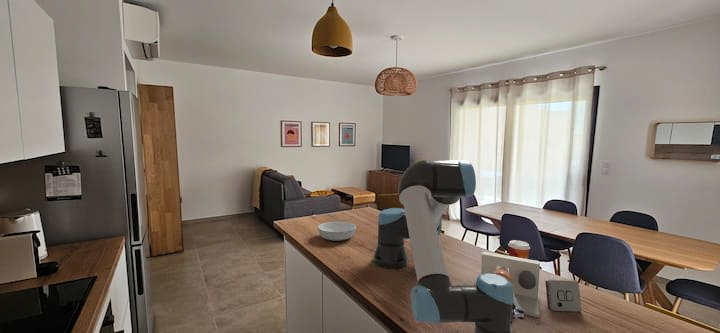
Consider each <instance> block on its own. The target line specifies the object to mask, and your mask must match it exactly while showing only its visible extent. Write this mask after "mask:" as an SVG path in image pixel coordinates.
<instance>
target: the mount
mask: <svg viewBox="0 0 720 333" xmlns="http://www.w3.org/2000/svg"><path fill="white" fill-rule="evenodd" d="M540 263H541V261H539V260H536V259H535V260H534V259H529V258H528V259H524V258H518V257H512V256H509V255H507V254H501V253H496V252H495V253H494V252H489V251H482V252H481V268H480V269H481V270H480V275H483V274H485V273H490V274H493V273H494V271H496V270H497V267H499V266H501V267H506V268H508V269H509V268H510V276H511V278H512V283H511V284H512V287H513V294H514V295H515V297H516V299H517V301H518V303H519V306H520V307H521V308H522V309H523V310H524V315H527V316H530V317H534V318H538V319H540V318H539V317H540V311H539V286H540V284H539V283H540V282H539V281H540V269H541V268H540V267H541V264H540ZM512 310H513V309H512Z"/></svg>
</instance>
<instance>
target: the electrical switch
mask: <svg viewBox="0 0 720 333" xmlns="http://www.w3.org/2000/svg"><path fill="white" fill-rule="evenodd" d="M545 290H546V302H547V306H548V307H549V308H550V310H551V311H554V312H573V313H574V312H578V313H579V312H581V311H582V302H581V295H580V294H581V292H580V285H579V282H578V281H576V280H575V279H574V280H572V279H569V280H567V279H548V280H545Z"/></svg>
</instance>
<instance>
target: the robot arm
mask: <svg viewBox="0 0 720 333" xmlns="http://www.w3.org/2000/svg"><path fill="white" fill-rule="evenodd" d="M474 168H475V167H474V166H473V165H472V163H471V162H470V161H468V160H460V159H458V160H457V159H455V160H449V159H447V160H443V159H442V160H438V159H437V160H430V159H424V160H418V161H417V162H414V163H412V164H411V165H409V167H407V168H406V169H405V171H404V173H403V174H402V175H401V178H400V179H399V183H398V190H397V193H398V199H399V203H400V204H401V205H402V206H403V208H401V207H399V208H398V207H391V208H387V209H386V208H385V209H383V210H381V211H380V212H379V213H378V217H377V218H378V219H377V245H376V247H375V251H374V254H373V263H374V264H375V265H376V266H379V267H382V268H385V269H399V268H403V267H405V266H407V265H408V263H409V262H408V261H409V259H408V257H409V256H408V253H407V251H406V247H405V240H409V241H410V247H411V252H412V258H413V263H414V269H415V270H414V271H415V274H416V280H417V285H414V286H413V287H412V288H411V291H410V302H411V304H410V305H411V312H412V316H413V318H414V320H416V321H417V322H418V323H425V324H428V323H429V324H441V323H442V324H445V323H446V324H447V323H474V333H513V320H515V319H516V318H517V319H518V320H520V321H521V320H522V321H523V320H524V319H525V317H524V316H525V314H524V310H523V309H522V308H521V307H520V306H519V303H518V301H517V299H516V297H515V295H514V294H513V287H512V284H511V283H510V281H508V280H507V279H506V278H504V277H502V276H500V275H496V274H490V273H485V274H483V275H481V274H479V275H478V276H477V278H476V282H475V284H471V285H469V284H468V285H465V284H463V285H459V284H458V285H453V284H452V282H451V279H450V275H449V271H448V267H447V263H446V259H445V256H444V252H443V248H442V244H441V239H440V235H441V232H442V228H443V223H442V218H441V217H442V216H443V215H444V213H445V212H446V210H447V209H448V208H449V206H450V205H454V204H456V203H457V202H459V201H460V200H461V198H464V197H465V198H469V197H472V196H474V195H475V192H476V188H477V180H476V172H475V169H474ZM512 309H513V310H512Z"/></svg>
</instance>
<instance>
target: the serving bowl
mask: <svg viewBox="0 0 720 333" xmlns="http://www.w3.org/2000/svg"><path fill="white" fill-rule="evenodd" d="M356 229H357V226H356V225H355V224H354V223H353V222H352V223H351V222H347V221H327V222H324V223H321V224H319V225H318V226H317V231H318V234H319V235H320V236H321V238H323V239H324V240H325V239H326V240H329V241H334V242H339V241H344V240H348V239H350V238H351V237H353V236H354V234H355V233H356Z"/></svg>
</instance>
